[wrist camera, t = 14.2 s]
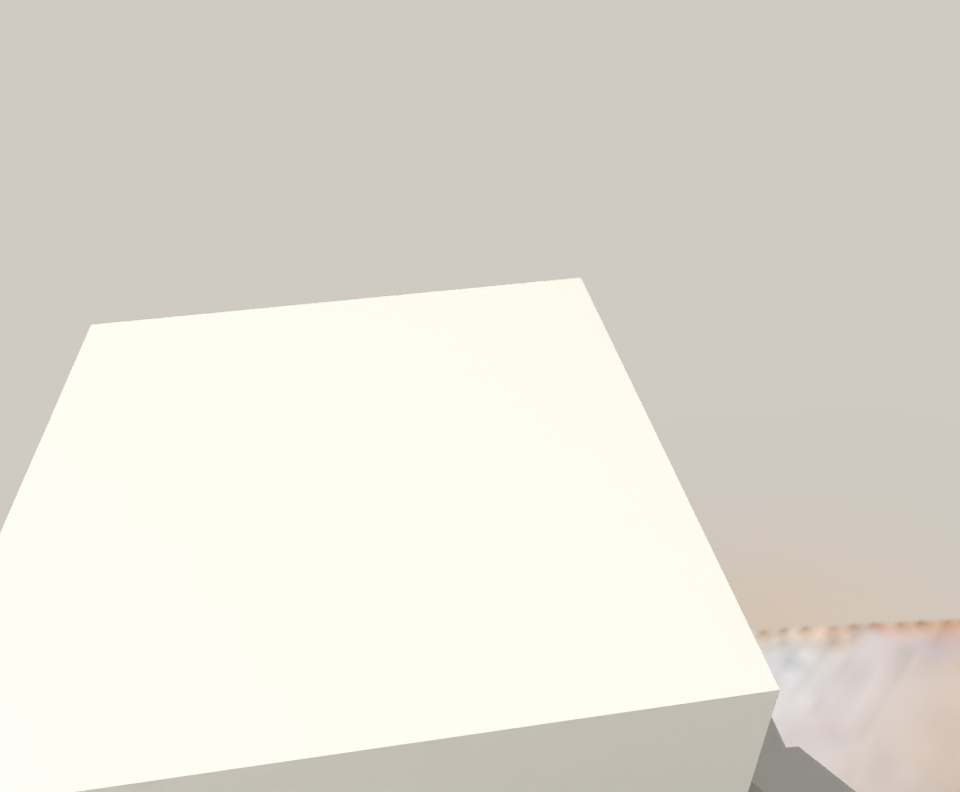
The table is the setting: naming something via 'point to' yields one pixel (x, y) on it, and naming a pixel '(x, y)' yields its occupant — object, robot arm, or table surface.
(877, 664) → the table surface
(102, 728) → the tall block
